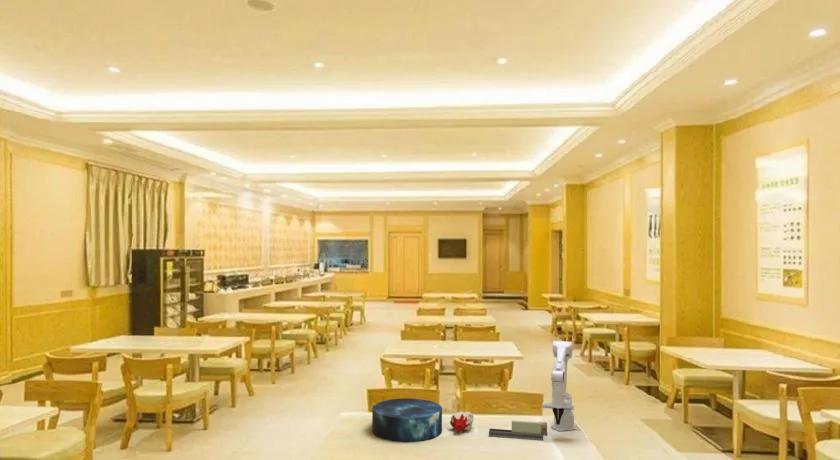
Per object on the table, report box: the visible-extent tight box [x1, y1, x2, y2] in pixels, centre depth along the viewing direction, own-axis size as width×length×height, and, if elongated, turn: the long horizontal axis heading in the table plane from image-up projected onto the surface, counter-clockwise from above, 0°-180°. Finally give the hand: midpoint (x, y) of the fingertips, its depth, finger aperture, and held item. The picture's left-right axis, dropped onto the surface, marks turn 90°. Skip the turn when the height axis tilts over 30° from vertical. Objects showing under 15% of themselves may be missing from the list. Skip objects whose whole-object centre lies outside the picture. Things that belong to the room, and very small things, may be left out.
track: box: [488, 428, 544, 441], centre depth 280 cm, size 26×7×2 cm, turn 79°
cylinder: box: [371, 397, 443, 443], centre depth 288 cm, size 35×35×12 cm
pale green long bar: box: [511, 419, 542, 434], centre depth 280 cm, size 14×2×6 cm, turn 79°
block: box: [540, 421, 548, 437], centre depth 285 cm, size 5×5×5 cm
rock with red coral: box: [449, 411, 474, 433], centre depth 288 cm, size 9×11×15 cm
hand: (558, 424), depth 276 cm, fingers closed
